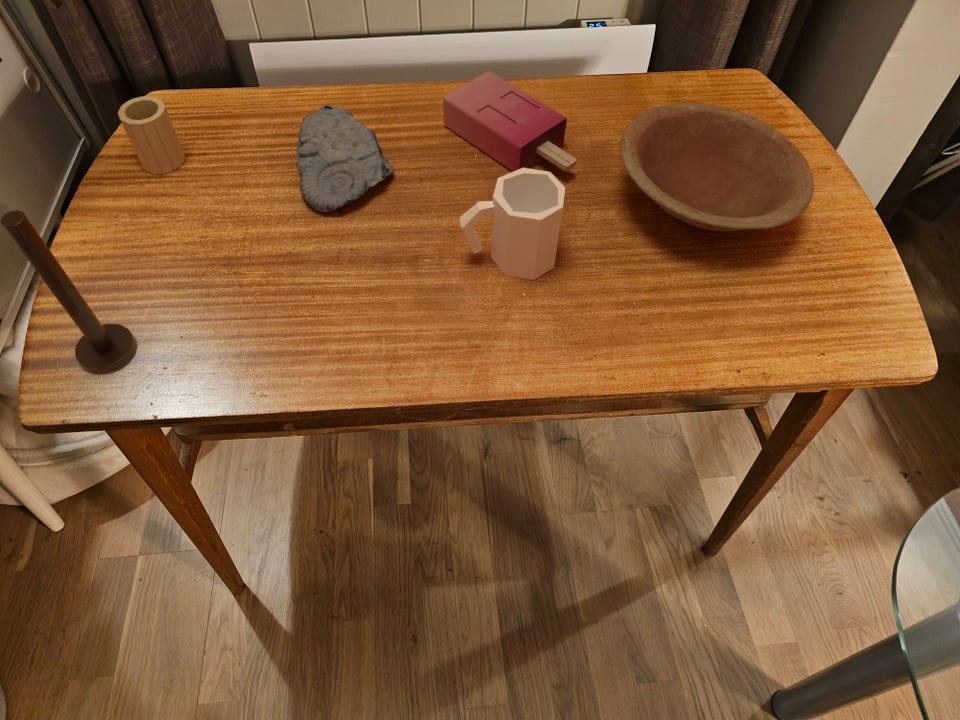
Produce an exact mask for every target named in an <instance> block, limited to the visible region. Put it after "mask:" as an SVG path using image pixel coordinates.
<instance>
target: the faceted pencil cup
mask: <svg viewBox="0 0 960 720" xmlns="http://www.w3.org/2000/svg"><path fill="white" fill-rule="evenodd" d="M117 115H118V118H119V121H120V122H121V124H122V127H123V129H124V131H125V133H126V135H127V137H128V140H129V141H130V144H131V146H132V147H133V150H134V152H135V154H136V156H137V158H138V161H139V163H140V165H141V167H142V169H143V170H144V171H146V172H147V173H149V174H151V175H152V174H153V175H166V174H169V173H172V172H174V171H176V170H178V169H179V168H180V167H182V166H183V165H184V163H185V161H186V155H185V152H184V150H183V147H182V145H181V142H180V139H179V137H178V135H177V132H176V130H175V127H174V125H173V122H172V119H171V117H170V115H169V113H168V110H167V107H166V105H165V102H164V101H163V99H160V98H158V97H156V96H150V95H149V96H147V95H143V96H139V97H134V98H131V99H129V100H127V101H125V103H123V104H122V105H121V106H120V108H119V109H118V110H117Z"/></svg>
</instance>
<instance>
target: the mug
mask: <svg viewBox="0 0 960 720" xmlns="http://www.w3.org/2000/svg"><path fill="white" fill-rule="evenodd" d="M565 194H566V187H565V186H564V185H563V184H562V182H561V181H560V180H559V179H558V178H557V177H556V176H555V175H554V174H553V173H552V172H551V171H547V170H546V171H545V170H540V169H535V168H530V169H529V168H521V169H519V170H516V171H514V172H513V171H511V172H508V173H507V174H504V175H502V176H499V177H498V178H497V180H496V184H495V187H494V191H493V194H492V200H482V201H479V200H478V201H477V202H476V203H475V204H474V205H472V206H471V207H470V208H469V209H468V210H467V211H466V212H464V213H463V214H462V215H461V216H460V217H459V225H460V227H461V230H462V233H463V234H464V236H465V238H466V240H467V243H468V245H469V247H470V249H471V251H472V253H473V254H477V253H479V252H482V250H483V249H482V243H481V240H480V237H479V236H478V234H477V232H476V230H475V228H474V227H475V226H476V225H477V224H478V223H479V221H481V219H482V218H484V217H485V216H490V215H491V235H490V236H491V238H490V240H491V241H490V260H492V261H493V262H494V264H495V266H497V268H498V269H499V270H500V271H501V273H503V275H504V276H506V277H511V278H518V279H524V280H530V281H534V280H536V279H538V278H540V277H541V276H543V275H544V274H546V273H548V272H549V271H551V270H552V269H554V268H555V265H556V264H555V263H556V256H557V250H558V245H559V236H560V231H561V223H562V216H563V210H564V201H565Z"/></svg>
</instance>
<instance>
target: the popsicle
mask: <svg viewBox="0 0 960 720" xmlns="http://www.w3.org/2000/svg"><path fill="white" fill-rule="evenodd" d="M442 104H443V105H442V108H443V109H442V110H443V125H444V127H446V128H447V129H449V130H451V131H452V132H453V133H455V134H456V135H458V136H459V137H461V138H462V139H464V140H465V141H467V142H468V143H470V144H471V145H473V146H474V147H476V148H477V149H479V151H482V152H483V153H484V154H486V155H487V156H489V157H491V158H492V159H493V160H495V161H496V162H497V163H499V164H500V165H502V166H504V167H505V168H507V169H508V170H509V171H511V172H514V171H516V170H519V169H521V168H529V169H532V168H533V167H534V166H536V165H537V164H538V163H540V162H542V161H543V160H544V159H545V160H547V161H548V162H550V163H551V164H553V165H554V166H556V167H557V168H559V169H561V170H562V171H564V172H568V171H571V169H573V168H574V167H576V165H577V158H576V157H574V156H573V155H572V154H570V153H568V152H566V151H565V150H563V149H562V147H563V146H564V143H565V137H566V129H567V120H568V118H567V117H566V116H564V115H562V114H561V113H559V112H558V111H556V110H555V109H553V108H552V107H549V106H548V105H546V104H544V103H543V102H541V101H539V100H538V99H537V98H535V97H532V95H530V94H528V93H526V92H525V91H523V90H521V89H520V88H518V87H516V86H515V85H514V84H512V83H510V82H508V81H507V80H505V79H504V78H502V77H500V76H499V75H497V74H495V73H494V72H492V71H489V70H487V71H486V72H484V73H483V74H480V75H479V76H477V77H475V78H474V79H472V80H470V81H469V82H466V83H465V84H463V85H461V86H460V87H459V88H457V89H455V90H453V91H451V92H449V93H448V94H446V95H444V96H443V97H442Z"/></svg>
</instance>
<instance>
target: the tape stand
mask: <svg viewBox="0 0 960 720" xmlns="http://www.w3.org/2000/svg"><path fill="white" fill-rule="evenodd" d="M0 225H1V226H2V227H3V228H4V230H5V231H6V233H7V234H8V235H9V237H10V239H12V241H13V242H14V243H15V245H16V246H17V248H18V249H19V250H20V251H21V253H22V254H23V255H24V257H25V258H26V260H27V261H28V262H29V264H30V266H31V267H32V268H33V269H34V271H35V272H36V273H37V275H38V276H39V277H40V278H41V280H42V282H43V283H44V284H45V285H46V286H47V288H48V289H49V291H50V292H51V294H52V295H53V296H54V297H55V299H56V300H57V301H58V302H59V304H60V305H61V307H62V308H63V309H64V310H65V312H66V313H67V315H68V316H69V318H70V319H71V320H72V322H73V323H74V324H75V326H76V327H77V328H78V329H79V331H80V332H81V334H82V336H81V337H80V338H79V339H78V341H77V343H76V346H75V349H74V356H75V360H77V362H78V363H79V365H80V366H81V367H82V368H83V369H84V370H85V371H86V372H89V373H91V374H94V375H106V374H111V373H114V372H117V371H118V370H121V369H122V368H124V367H125V366H126V365H128V364H129V363H130V362H131V360H132V359H133V358H134V357H135V354H136V352H137V347H138V345H137V344H138V343H137V340H136V337H134V335H133V333H132V332H131V330H130V329H129V328H128V327H126V326H125V325H122V324H119V323H105V324H102V323H101V321H100V320H99V318H98V317H97V315H96V314H95V313H94V311H93V310H92V309H91V307H90V306H89V303H87V301H86V300H85V298H84V297H83V295H82V294H81V293H80V291H79V290H78V288H77V287H76V285H75V284H74V283H73V281H72V279H71V278H70V277H69V276H68V274H67V272H66V271H65V269H64V268H63V267H62V265H61V264H60V262H59V261H58V260H57V258H56V257H55V255H54V254H53V253H52V251H51V250H50V248H49V247H48V245H47V243H45V241H44V239H43V238H42V236H41V235H40V234H39V232H38V230H37V229H36V228H35V226H34V225H33V224H32V222H31V221H30V220H29V218H28V217H27V215H26V213H24V211H21V210H18V209H17V210H15V209H14V210H11V211H8V212H6V213H4V214H3V215H2V217H0Z"/></svg>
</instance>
